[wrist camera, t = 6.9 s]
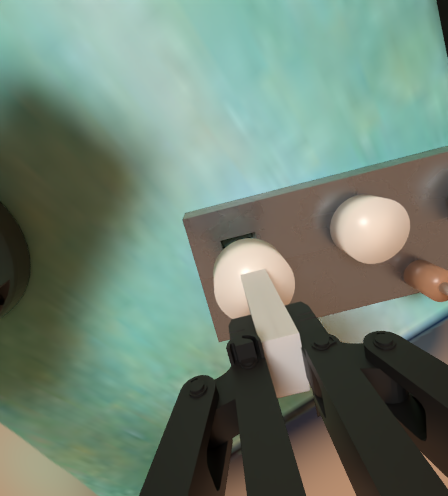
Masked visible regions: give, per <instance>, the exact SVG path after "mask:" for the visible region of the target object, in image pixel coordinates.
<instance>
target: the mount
mask: <svg viewBox="0 0 448 496" xmlns="http://www.w3.org/2000/svg"><path fill="white" fill-rule="evenodd" d="M363 194H366V195H372V196H377V197H382V198H387V199H391V200H394V201H396V202H398V203H399V204H401V205H402V206H403V207H404V208H405V210H406V211H407V213H408V216H409V219H410V232H409V236H408V238H407V241H406V243H405V244H404V246H403V247H402V249H401V250H400V251H399V252H398V253H397V254H396V255H395V256H393V257H392V258H390V259H388V260H386V261H384V262H381V263H376V264H366V263H362V262H359V261H357V260H356V259H354V258H353V257H351V256H350V255H348V254H347V253H345V252H344V251H342V250H341V249H339V248H338V247H337V246H336V245H335V243H334V242H333V240H332V238H331V234H330V223H331V219H332V217H333V214H334V213H335V211H336V209H337V208H338V207H339V206H340V205H341V204H342V203H343V202H344V201H346V200H347V199H349V198H351V197H353V196H356V195H363ZM183 223H184V226H185V229H186V233H187V236H188V239H189V243H190V246H191V250H192V253H193V256H194V260H195V263H196V266H197V270H198V273H199V277H200V280H201V283H202V287H203V290H204V293H205V297H206V300H207V304H208V307H209V310H210V314H211V317H212V320H213V324H214V327H215V330H216V334H217V337H218V341H219V342H222V341H226V340H230V335H229V327H228V326H229V324H230V322H231V320H232V318H230V317H229V316H227V315H226V314H225V313H224V312H223V311H222V310H221V308H220V307H219V305H218V303H217V301H216V298H215V294H214V279H213V269H214V264H215V261H216V259H217V257H218V255H219V254H220V253H221V251H222V250H223V247H222V243H221V240H225V239H229V238H233V237H237V236H241V235H245V234H249V233H252V236H253V238H256V239H260V240H263V241H266V242H268V243H270V244H271V245H272V246H274V247H275V248H276V249H277V251H278V252H279V253H280V254H281V256H282V257H283V258H284V259H285V261H286V262H287V263H288V264H289V266H290V268H291V269H292V272H293V274H294V278H295V290H294V294H293V297H292V300H291V302H290V303H289V304H292V303H296V302H300V301H301V302H303V303H305V304H307V305H308V306H309V307H310V308H311V310H312V311H313V313H314V314H315V316H316V317H317V318H318V317H322V316H326V315H330V314H334V313H338V312H343V311H347V310H351V309H355V308H359V307H363V306H367V305H371V304H375V303H379V302H383V301H387V300H391V299H395V298H399V297H403V296H407V295H411V294H415V293H419V291H418V290H416V289H414V288H413V287H411V286H409V285H408V284H407V283H406V282H405V281H404V271H405V269H406V267H407V266H408V265H409V264H410V263H412V262H413V261H416V260H426V261H428V262H430V263H432V264H434V265H437V266H439V267H441V268H443V269H445V270H448V146H445V147H441V148H437V149H433V150H429V151H425V152H422V153H418V154H414V155H410V156H406V157H402V158H398V159H394V160H390V161H387V162H383V163H379V164H375V165H371V166H367V167H363V168H359V169H355V170H351V171H348V172H344V173H340V174H336V175H332V176H328V177H324V178H320V179H316V180H312V181H309V182H305V183H301V184H297V185H293V186H289V187H285V188H281V189H277V190H273V191H270V192H266V193H262V194H258V195H254V196H250V197H246V198H242V199H238V200H235V201H231V202H227V203H223V204H219V205H215V206H211V207H207V208H203V209H199V210H196V211H192V212H188V213H185V215H184V217H183Z"/></svg>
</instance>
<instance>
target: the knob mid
mask: <svg viewBox="0 0 448 496" xmlns="http://www.w3.org/2000/svg"><path fill="white" fill-rule="evenodd" d="M409 232H410V219H409V216H408V213H407V211H406V210H405V208H404V207H403V206H402V205H401V204H399V203H398V202H396V201H394V200H391V199H387V198H382V197H377V196H372V195H366V194H363V195H356V196H353V197H351V198H349V199H347V200H346V201H344V202H343V203H342V204H341V205H340V206H339V207H338V208H337V209H336V211H335V213H334V214H333V217H332V219H331V223H330V234H331V238H332V240H333V242H334V243H335V245H336V246H337V247H338V248H339V249H341V250H342V251H344V252H345V253H347V254H348V255H350V256H351V257H353V258H354V259H356V260H357V261H359V262H362V263H366V264H376V263H381V262H384V261H386V260H388V259H390V258H392V257H393V256H395V255H396V254H397V253H398V252H399V251H400V250H401V249H402V247H403V246H404V244H405V243H406V241H407V238H408V236H409Z"/></svg>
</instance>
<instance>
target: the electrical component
mask: <svg viewBox="0 0 448 496" xmlns="http://www.w3.org/2000/svg"><path fill="white" fill-rule="evenodd" d="M437 5H438V10H439V16H440V21H441V26H442V31H443V36H444V41H445V46H446V51H447V57H448V0H437Z"/></svg>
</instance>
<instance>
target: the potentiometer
mask: <svg viewBox="0 0 448 496" xmlns="http://www.w3.org/2000/svg"><path fill="white" fill-rule="evenodd" d="M404 281H405V282H406V283H407V284H408V285H409V286H411V287H413V288H414V289H416V290H418V291H419V292H421V293H422V294H424V295H426V296H427V297H429V298H431V299H432V300H434V301H437V302H443V301H447V300H448V270H445V269H443V268H441V267H439V266H437V265H434V264H432V263H430V262H428V261H426V260H416V261H413V262H412V263H410V264H409V265H408V266H407V267H406V269H405V271H404Z"/></svg>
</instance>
